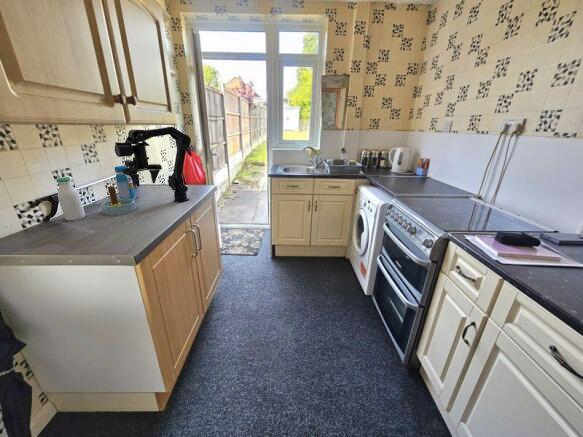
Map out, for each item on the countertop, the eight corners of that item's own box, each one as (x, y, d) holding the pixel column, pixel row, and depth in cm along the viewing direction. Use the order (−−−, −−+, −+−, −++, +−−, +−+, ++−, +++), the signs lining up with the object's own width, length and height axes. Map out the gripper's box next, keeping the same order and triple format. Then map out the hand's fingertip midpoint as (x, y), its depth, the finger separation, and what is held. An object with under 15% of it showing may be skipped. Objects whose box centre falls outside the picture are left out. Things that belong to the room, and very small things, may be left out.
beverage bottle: (121, 201, 146) (113, 168, 139) (119, 198, 152) (111, 166, 145) (137, 199, 151) (130, 166, 144) (134, 196, 157) (128, 165, 150)
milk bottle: (89, 217, 122) (77, 177, 115) (70, 222, 115) (57, 180, 108) (80, 214, 125) (68, 175, 118) (62, 219, 118) (47, 178, 111)
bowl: (124, 205, 139) (122, 197, 138) (142, 209, 134) (140, 200, 132) (97, 213, 127) (94, 204, 125) (115, 217, 121) (113, 208, 120)
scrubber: (118, 209, 132) (113, 185, 127) (123, 210, 130) (118, 186, 126) (110, 211, 128) (103, 187, 124) (115, 212, 126) (108, 188, 122)
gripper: (145, 152, 137) (151, 180, 143) (111, 156, 121) (119, 187, 127) (160, 154, 133) (165, 182, 139) (127, 157, 117) (133, 189, 123)
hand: (146, 185), depth 132 cm, fingers open, 9 cm apart
